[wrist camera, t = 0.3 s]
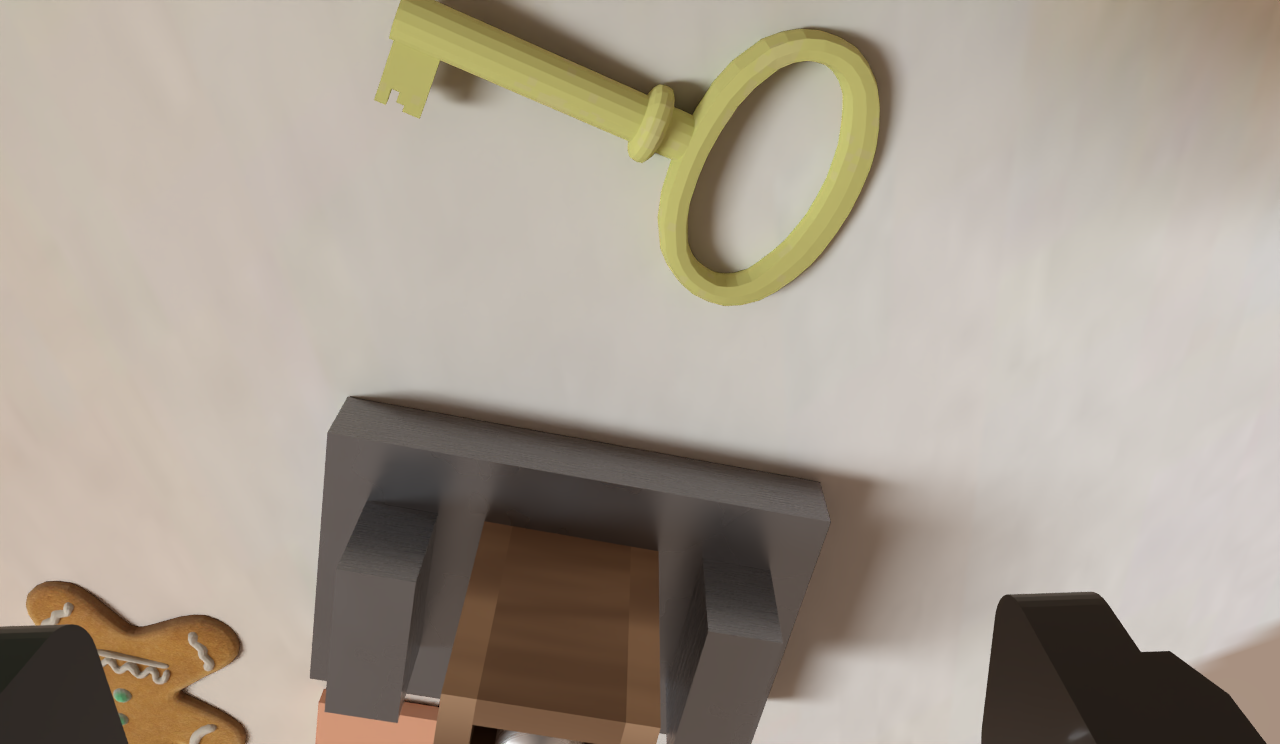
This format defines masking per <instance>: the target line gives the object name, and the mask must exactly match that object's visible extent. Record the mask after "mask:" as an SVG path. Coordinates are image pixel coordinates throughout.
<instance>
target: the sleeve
mask: <svg viewBox="0 0 1280 744" xmlns="http://www.w3.org/2000/svg"><path fill="white" fill-rule="evenodd" d="M497 729H503V730H509V731H516V732H522V733H529V734H535V735H542V736H548V737H554V738H561V739H567V740H574V741H580V742H585V744H656V742H657V739H658V735H659V732H660V729H661V718H660V634H659V551H654V550H648V549H643V548H637V547H631V546H625V545H619V544H614V543H608V542H602V541H596V540H590V539H585V538H579V537H573V536H567V535H561V534H556V533H550V532H544V531H538V530H532V529H527V528H521V527H515V526H509V525H503V524H498V523H492V522H486V521H484V525H483V529H482V533H481V537H480V541H479V545H478V549H477V553H476V557H475V561H474V565H473V569H472V573H471V577H470V581H469V585H468V589H467V592H466V596H465V600H464V604H463V608H462V612H461V616H460V620H459V624H458V628H457V632H456V636H455V640H454V644H453V648H452V652H451V656H450V660H449V664H448V668H447V672H446V676H445V680H444V684H443V688H442V692H441V697H440V704H439V710H438V717H437V723H436V730H435V736H434V743H433V744H495V740H496V734H497Z"/></svg>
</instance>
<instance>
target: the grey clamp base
mask: <svg viewBox="0 0 1280 744" xmlns="http://www.w3.org/2000/svg"><path fill="white" fill-rule="evenodd" d="M484 521H486V522H492V523H498V524H503V525H509V526H515V527H521V528H527V529H532V530H538V531H544V532H550V533H556V534H561V535H567V536H573V537H579V538H585V539H590V540H596V541H602V542H608V543H614V544H619V545H625V546H631V547H637V548H643V549H648V550H654V551H659V634H660V718H661V729H660V732H659V733H662V734H666V735H667V744H751V743H752V740H753V737H754V734H755V731H756V729H757V726H758V723H759V720H760V718H761V715H762V712H763V709H764V706H765V704H766V701H767V698H768V695H769V692H770V690H771V687H772V684H773V681H774V679H775V676H776V673H777V670H778V667H779V665H780V662H781V659H782V656H783V654H784V651H785V648H786V645H787V642H788V640H789V637H790V634H791V631H792V628H793V626H794V623H795V620H796V617H797V615H798V612H799V609H800V606H801V603H802V601H803V598H804V595H805V592H806V590H807V587H808V584H809V581H810V578H811V576H812V573H813V570H814V567H815V564H816V562H817V559H818V556H819V553H820V551H821V548H822V545H823V542H824V539H825V537H826V534H827V531H828V528H829V526H830V523H831V521H830V517H829V514H828V510H827V506H826V503H825V499H824V495H823V492H822V488H821V484H820V482H816V481H810V480H805V479H799V478H794V477H788V476H783V475H777V474H772V473H766V472H760V471H755V470H749V469H744V468H738V467H733V466H727V465H722V464H716V463H711V462H705V461H700V460H694V459H689V458H683V457H678V456H672V455H667V454H661V453H656V452H650V451H644V450H639V449H633V448H628V447H622V446H617V445H611V444H606V443H600V442H595V441H589V440H584V439H578V438H573V437H567V436H562V435H556V434H551V433H545V432H539V431H534V430H528V429H523V428H517V427H512V426H506V425H501V424H495V423H490V422H484V421H479V420H473V419H468V418H462V417H457V416H451V415H446V414H440V413H434V412H429V411H423V410H418V409H412V408H407V407H401V406H396V405H390V404H385V403H379V402H374V401H368V400H363V399H357V398H352V397H347V399H346V401H345V403H344V404H343V406H342V408H341V410H340V411H339V413H338V415H337V417H336V419H335V420H334V422H333V424H332V426H331V427H330V429H329V431H328V433H327V447H326V461H325V475H324V489H323V503H322V517H321V531H320V544H319V558H318V572H317V586H316V600H315V614H314V628H313V642H312V656H311V669H310V678H311V679H317V680H324V681H327V687H326V699H325V711H324V712H328V713H335V714H341V715H348V716H354V717H361V718H367V719H374V720H380V721H387V722H393V723H398V720H399V716H400V713H401V710H402V706H403V703H404V699H405V696H406V693H407V694H413V695H419V696H426V697H432V698H439V699H440V697H441V692H442V688H443V684H444V680H445V676H446V672H447V668H448V664H449V660H450V656H451V652H452V648H453V644H454V640H455V636H456V632H457V628H458V624H459V620H460V616H461V612H462V608H463V604H464V600H465V596H466V592H467V589H468V585H469V581H470V577H471V573H472V569H473V565H474V561H475V557H476V553H477V549H478V545H479V541H480V537H481V533H482V529H483V525H484ZM495 744H585V742H580V741H574V740H567V739H561V738H554V737H548V736H542V735H535V734H529V733H522V732H516V731H509V730H503V729H497V734H496V740H495Z"/></svg>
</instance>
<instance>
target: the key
mask: <svg viewBox="0 0 1280 744" xmlns="http://www.w3.org/2000/svg"><path fill="white" fill-rule="evenodd" d="M389 39H392V40H394V41H393V44H392V47H391V50H390V53H389V56H388V59H387V63H386V66H385V69H384V72H383V75H382V78H381V81H380V84H379V87H378V90H377V93H376V96H375V99H374V100H375V101H378V102H380V103H383V104H385V105H386V103H387V101H388V99H389V96H390V93H391V90H392V89H393V90H396V91H398V92H400V93H399V96H398V99H397V101H396V102H397V103H400V104H402V105H404V108H403V111H402V112H405V113H407V114H409V115H412V116H414V117H417V118H419V119H420V116H421V114H422V111H423V108H424V105H425V102H426V100H427V97H428V94H429V91H430V88H431V85H432V83H433V80H434V77H435V74H436V71H437V68H438V66H439V63H440V60H441V61H443V62H445V63H448V64H450V65H452V66H455V67H457V68H459V69H462V70H464V71H466V72H469V73H471V74H473V75H476V76H478V77H480V78H483V79H485V80H487V81H490V82H492V83H494V84H497V85H499V86H501V87H504V88H506V89H508V90H511V91H513V92H515V93H518V94H520V95H522V96H525V97H527V98H529V99H532V100H534V101H536V102H539V103H541V104H543V105H546V106H548V107H550V108H553V109H555V110H557V111H560V112H562V113H564V114H567V115H569V116H571V117H574V118H576V119H578V120H581V121H583V122H585V123H588V124H590V125H592V126H595V127H597V128H599V129H602V130H604V131H606V132H609V133H611V134H613V135H616V136H618V137H621V138H623V139H625V140H628V153H629V157H631V158H632V159H633V160H635V161H636V162H641V163H643V162H644V161H646V160H648V159H649V158H650V157H652V156H653V154H654V153H655V152H656V153H658V154H660V155H663V156H665V157H667V158H670V159H671V162H670V165H669V169H668V172H667V175H666V178H665V181H664V184H663V187H662V191H661V198H660V205H659V212H658V227H659V238H660V249H661V251H662V254H663V256H664V258H665V261H666V263H667V265H668V266H669V268H670V269H671V271H672V272H673V274H674V275H675V277H676V278H677V279H678V281H679V282H680V283H681V284H682V285H683V286H684V287H685V288H687V289H688V290H689V291H690V292H691V293H692V294H694V295H696V296H698V297H700V298H702V299H704V300H706V301H708V302H712V303H716V304H719V305H723V306H732V305H743V304H747V303H751V302H755V301H759V300H761V299H763V298H765V297H767V296H769V295H771V294H773V293H775V292H776V291H778V290H779V289H781V288H782V287H784V286H785V285H786V284H788V283H789V282H791V281H792V280H794V279H795V278H796V277H797V276H798V275H800V274H801V273H802V272H803V271H804V270H805V269H807V268H808V267H809V266H810V265H811V264H812V263H813V262H814V261H815V260H816V258H817V257H818V256H819V255H820V254H821V253H822V252H823V251H824V249H825V248H826V247H827V245H828V244H829V243H830V241H831V240H832V239H833V237H834V236H835V235H836V233H837V232H838V230H839V229H840V227H841V225H842V224H843V222H844V221H845V219H846V218H847V216H848V215H849V213H850V212H851V210H852V208H853V206H854V204H855V202H856V200H857V198H858V196H859V194H860V192H861V190H862V188H863V185H864V183H865V181H866V178H867V176H868V173H869V171H870V168H871V166H872V162H873V159H874V155H875V151H876V147H877V140H878V132H879V116H880V101H879V94H878V88H877V82H876V80H875V77H874V75H873V73H872V70H871V68H870V66H869V64H868V62H867V61H866V59H865V58H864V57H863V55H862V54H861V53H860V51H859V50H858V49H857V48H856V47H855V46H853V45H852V44H850V43H848V42H847V41H845V40H843V39H842V38H840V37H838V36H835V35H832V34H830V33H827V32H824V31H821V30H810V29H795V30H789V31H783V32H779V33H776V34H774V35H771V36H768V37H765V38H763V39H761V40H760V41H758V42H757V43H756V44H754V45H753V46H751V47H750V48H749V49H747V50H746V51H745V52H743V53H742V54H741V55H739V56H738V57H736V58H735V59H734V60H732V62H731V63H730V64H729V65H728V66H727V67H726V68H725V69H724V70H723V71H722V73H721V74H720V75H719V76H718V77H717V78H716V79H715V80H714V81H713V83H712V84H711V86H710V87H709V89H708V90H707V92H706V93H705V95H704V96H703V98H702V100H701V101H700V103H699V104H698V106H697V107H696V109H695V110H694V112H693V114H692V115H691V114H689V113H687V112H684V111H682V110H680V109H678V108H675V107H674V103H675V99H674V93H673V90H672V89H671V88H670V87H668V86H665V85H661V84H659V85H657V86H655V87H654V88H653V89H652V90H651V91H650V92H649V93H648V94H647V95H646V94H644V93H642V92H639V91H637V90H635V89H633V88H630V87H628V86H626V85H624V84H621V83H619V82H617V81H615V80H612V79H610V78H608V77H606V76H603V75H601V74H599V73H597V72H594V71H592V70H590V69H588V68H585V67H583V66H581V65H579V64H576V63H574V62H572V61H570V60H567V59H565V58H563V57H561V56H558V55H556V54H554V53H552V52H549V51H547V50H545V49H543V48H540V47H538V46H536V45H534V44H531V43H529V42H527V41H525V40H522V39H520V38H518V37H516V36H513V35H511V34H509V33H507V32H504V31H502V30H500V29H498V28H495V27H493V26H491V25H489V24H486V23H484V22H482V21H480V20H477V19H475V18H473V17H471V16H468V15H466V14H464V13H462V12H459V11H457V10H455V9H453V8H450V7H448V6H446V5H444V4H441V3H439V2H437V1H435V0H401V1H400V4H399V7H398V10H397V13H396V16H395V19H394V22H393V25H392V28H391V32H390V37H389ZM802 61H814V62H818V63H821V64H824V65H826V66H827V67H828V68H830V69H831V70H832V71H833V72H834V74H835V75H836V77H837V79H838V80H839V83H840V86H841V90H842V93H843V110H842V121H841V129H840V135H839V142H838V146H837V149H836V152H835V155H834V158H833V161H832V164H831V167H830V170H829V172H828V175H827V178H826V180H825V182H824V184H823V186H822V187H821V189H820V191H819V193H818V195H817V197H816V199H815V200H814V202H813V204H812V205H811V207H810V209H809V210H808V212H807V214H806V215H805V216H804V217H803V219H802V220H801V221H800V222H799V224H798V225H797V226H796V228H795V229H794V230H793V231H792V232H791V233H790V235H789V236H788V237H787V238H786V239H785V240H784V241H783V242H782V243H781V244H780V245H779V246H778V247H776V248H775V249H774V250H773V251H772V252H770V253H769V254H768V255H766V256H765V257H764V258H762V259H761V260H760V261H759V262H757V263H756V264H754V265H753V266H751V267H749V268H748V269H745V270H742V271H738V272H735V273H718V272H713V271H712V270H710V269H708V268H706V267H705V266H703V265H702V264H701V263H700V262H698V261H697V260H696V258H695V257H694V256H693V254H692V253H691V250H690V247H689V244H688V212H689V206H690V201H691V198H692V195H693V192H694V189H695V186H696V183H697V180H698V177H699V175H700V172H701V170H702V168H703V165H704V163H705V161H706V158H707V156H708V154H709V152H710V150H711V149H712V147H713V145H714V143H715V141H716V140H717V138H718V136H719V134H720V132H721V131H722V129H723V128H724V126H725V125H726V123H727V122H728V121H729V119H730V118H731V116H732V115H733V113H734V112H735V110H736V109H737V107H738V106H739V105H740V104H741V103H742V102H743V100H744V99H745V98H746V97H747V96H748V95H749V94H750V93H751V92H752V91H753V90H754V89H755V88H756V87H757V86H758V85H759V84H761V83H762V82H763V81H764V80H766V79H767V78H768V77H770V76H771V75H772V74H773V73H775V72H776V71H777V70H778V69H780V68H782V67H785V66H787V65H790V64H792V63H796V62H802Z"/></svg>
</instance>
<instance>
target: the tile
mask: <svg viewBox="0 0 1280 744" xmlns="http://www.w3.org/2000/svg"><path fill="white" fill-rule="evenodd" d="M325 699H326V689H324V690H323V693H322V696H321V698H320V701H319V705H318V718H317V731H316V744H433V743H434V736H435V730H436V723H437V717H438V710H439V707H435V706H429V705H422V704H416V703H409V702H404V703H403V706H402V710H401V713H400V716H399V720H398V723H393V722H387V721H380V720H374V719H367V718H361V717H354V716H348V715H341V714H335V713H328V712H324V711H325Z"/></svg>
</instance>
